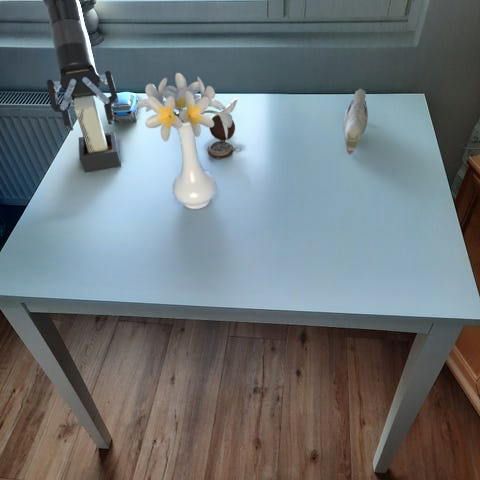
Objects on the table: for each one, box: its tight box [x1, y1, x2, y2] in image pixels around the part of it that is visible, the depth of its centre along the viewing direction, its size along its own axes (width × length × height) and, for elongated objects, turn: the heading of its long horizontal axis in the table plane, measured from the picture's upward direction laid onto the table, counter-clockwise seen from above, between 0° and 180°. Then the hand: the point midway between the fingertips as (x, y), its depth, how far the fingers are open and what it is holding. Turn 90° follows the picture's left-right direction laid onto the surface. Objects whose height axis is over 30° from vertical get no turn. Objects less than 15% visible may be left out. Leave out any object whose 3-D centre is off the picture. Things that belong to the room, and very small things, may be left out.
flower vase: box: [136, 72, 238, 210], centre depth 92 cm, size 13×18×25 cm
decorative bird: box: [342, 88, 369, 155], centre depth 110 cm, size 5×16×8 cm, turn 166°
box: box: [73, 96, 109, 154], centre depth 106 cm, size 5×4×13 cm
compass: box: [206, 114, 242, 160], centre depth 109 cm, size 8×8×7 cm
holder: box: [78, 131, 122, 174], centre depth 110 cm, size 8×8×4 cm
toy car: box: [112, 91, 140, 124], centre depth 121 cm, size 6×12×6 cm, turn 2°
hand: (90, 126), depth 104 cm, fingers open, 8 cm apart
